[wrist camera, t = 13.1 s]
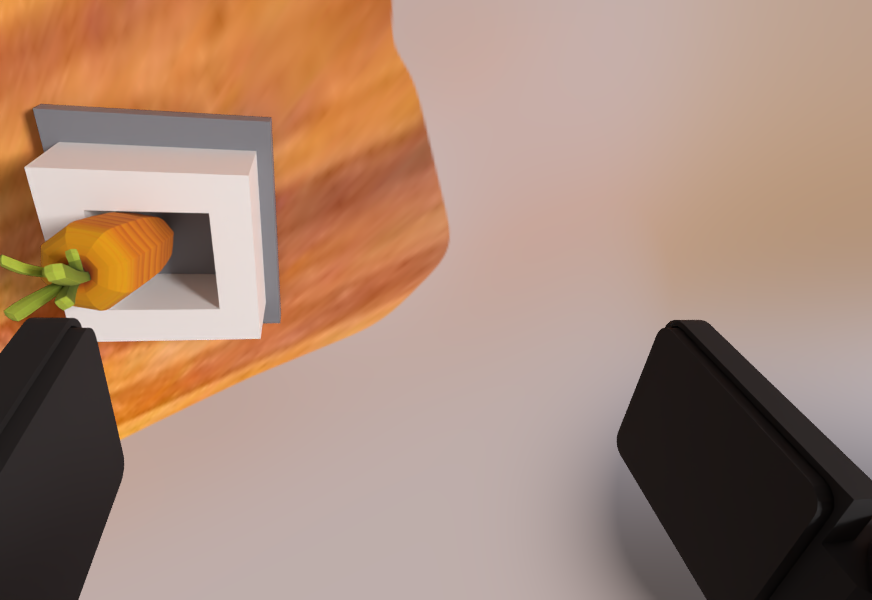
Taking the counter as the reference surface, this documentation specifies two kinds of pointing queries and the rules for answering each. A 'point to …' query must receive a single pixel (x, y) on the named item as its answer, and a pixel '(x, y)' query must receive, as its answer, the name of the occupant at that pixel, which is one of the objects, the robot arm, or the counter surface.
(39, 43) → the counter surface
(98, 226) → the carrot
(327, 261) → the counter surface
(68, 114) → the socket stand
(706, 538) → the robot arm
